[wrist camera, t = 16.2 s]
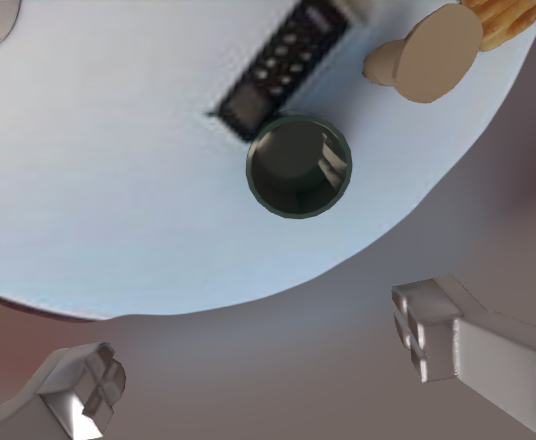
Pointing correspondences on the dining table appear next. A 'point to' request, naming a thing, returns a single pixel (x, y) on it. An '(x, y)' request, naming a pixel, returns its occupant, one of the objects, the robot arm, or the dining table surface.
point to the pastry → (501, 19)
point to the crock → (298, 164)
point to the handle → (428, 55)
